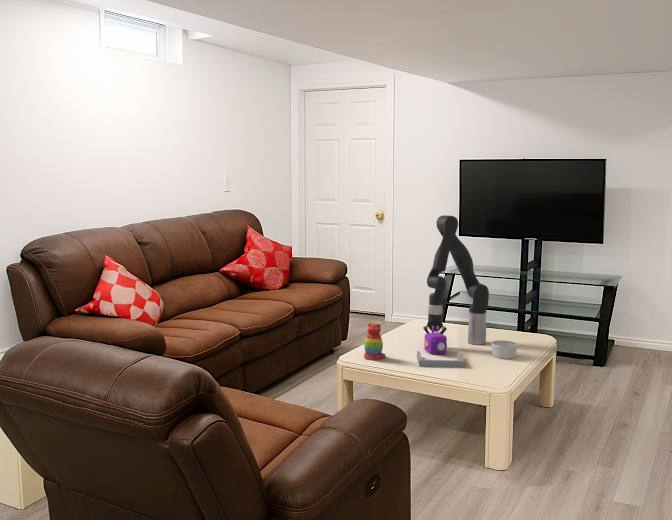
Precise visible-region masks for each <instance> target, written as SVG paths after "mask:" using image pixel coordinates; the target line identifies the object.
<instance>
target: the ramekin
mask: <svg viewBox="0 0 672 520" xmlns="http://www.w3.org/2000/svg"><path fill="white" fill-rule="evenodd" d="M490 346H491V354H492V356H493V357H494V358H497V359H503V360H511V359H510V358H512V359H514V358H515V357H516V356H517V350H518V347H519V346H518V342H515V341H511V340H505V339H504V340H502V339H501V340H500V339H499V340H497V339H496V340H492V341H491V343H490Z"/></svg>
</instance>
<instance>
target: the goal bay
mask: <svg viewBox="0 0 672 520" xmlns="http://www.w3.org/2000/svg"><path fill="white" fill-rule="evenodd" d="M456 357H457V359H456V360H455V359H423V357H422V353H421V351H419V350H418V351H416V360H417V363H418V366H419V367H435V368H436V367H437V368H465V366H466V365H465V364H466V361H465V358H464V357H463V354H462V353H461V352H460V351H457V354H456Z"/></svg>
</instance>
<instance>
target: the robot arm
mask: <svg viewBox="0 0 672 520" xmlns="http://www.w3.org/2000/svg"><path fill="white" fill-rule="evenodd" d="M436 228H437V230H438V232H439V234H440V235H441V237H442V239H441V241H440V244H439V246H438V248H437V250H436V252H435V254H434V256H433V257H434V259H433V264H432V267H431V269H430V271H429V273H428V276H427V278H426V284H427V286H428V287H429V288H430V289H433V290H434V292H432V293H429V296H428V297H429V299H428V309H427V311H428V312H427V315H428V316H427V323H426V325H425V326H423V327H422V328H423V330H424V331H425V334H427V333H430V331H431V333H436V332H440V333H441V334H443V335H444V333H445V332H446V331H447V330H448V329H447V327H446V326H444V324H443V313H444V309H443V296H444V294H445V290H446V286H447V281H446V279H445V277H443V276H441V275H440V274H441V273H443V272H445V271H446V270H447V265H448V259H449V254H450V255H451V257H452V259H453V261H454V262H453V263H454V264H455V266H456V268H457V270H458V272H459V274H460V276H461V278H462V281H463V282H464V287H465V289H466V292H467V294H468V296H469V297H470V298H471V299H472V305H470V306H469V308H468V329H467V330H468V333H467V343H468V344H471V345H480V346H481V345H486V344H487V341H486V340H487V325H486V324H487V318H486V317H487V310H488V307H489V299H490V292H489V291H490V289H489V288H488V286H487V285H485V284H484V283H480V282H479V280H478V278H477V276H476V274H475V270H474V262H473V261H474V260H473V258H472V256H471V254H470V251H469V250H468V248H467V246H466V245H465V244H464V243H463V242H462V241H461V240H460V239H459V237H458V236H457V230H458V228H459V221H458V218H457V217H456V216H453V215H440V216H438V217H437V220H436ZM429 330H430V331H429Z"/></svg>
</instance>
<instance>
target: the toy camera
mask: <svg viewBox="0 0 672 520" xmlns="http://www.w3.org/2000/svg"><path fill="white" fill-rule="evenodd" d="M440 332H441V331H438V332H436V333H435V332H434V333H432V332H429V333H425V334H424V342H423V343H424V344H423V345H424V346H423V348H424V350H425V352H427V353H429V354H431V355H436V354H437V355H438V354H439V355H440V354H445V353H446V352H447V348H448V344H447V343H448V342H447V339H448V338H447V335H444V333H443V334H441V333H440Z"/></svg>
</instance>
